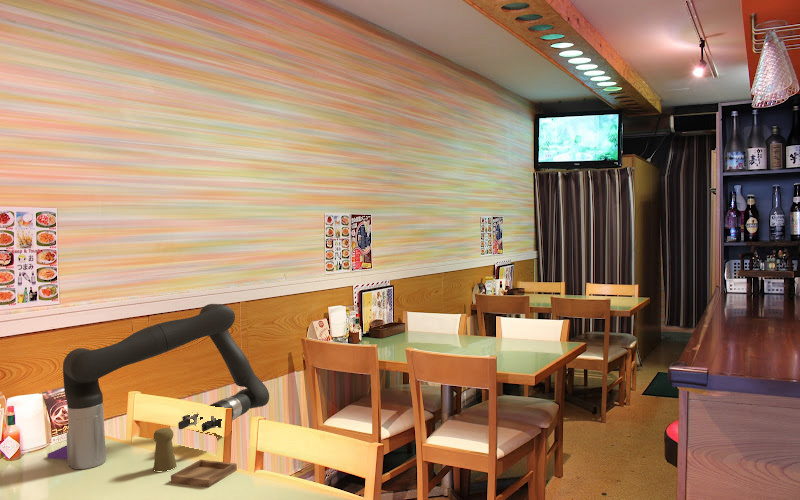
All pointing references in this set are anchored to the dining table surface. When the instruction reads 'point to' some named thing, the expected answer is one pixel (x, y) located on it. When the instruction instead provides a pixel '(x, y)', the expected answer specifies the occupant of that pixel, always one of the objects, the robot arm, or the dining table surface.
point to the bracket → (59, 453)
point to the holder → (204, 473)
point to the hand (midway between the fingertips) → (191, 427)
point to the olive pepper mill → (164, 450)
